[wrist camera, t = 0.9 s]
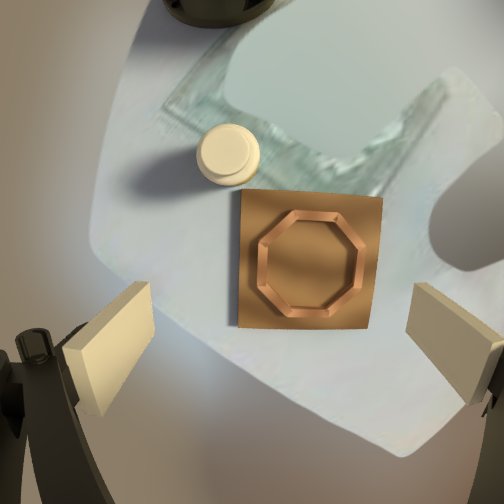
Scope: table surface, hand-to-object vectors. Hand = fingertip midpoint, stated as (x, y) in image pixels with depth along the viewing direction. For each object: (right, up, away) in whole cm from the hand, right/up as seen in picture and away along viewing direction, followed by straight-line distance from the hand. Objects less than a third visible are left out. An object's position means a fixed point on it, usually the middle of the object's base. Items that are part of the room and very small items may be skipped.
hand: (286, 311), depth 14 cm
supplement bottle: (-4, +13, +19) cm, 23 cm away
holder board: (+5, +2, +21) cm, 22 cm away
